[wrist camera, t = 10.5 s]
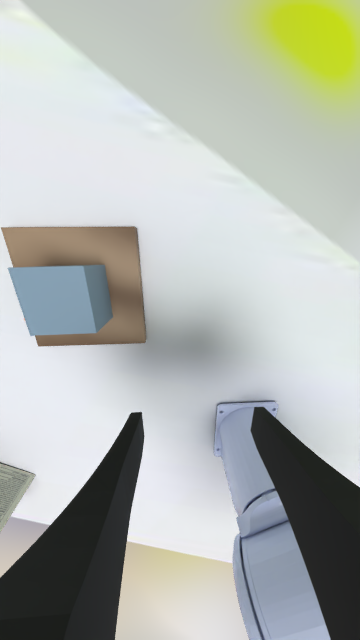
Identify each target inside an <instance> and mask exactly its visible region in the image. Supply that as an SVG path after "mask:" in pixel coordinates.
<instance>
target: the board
mask: <svg viewBox="0 0 360 640" xmlns="http://www.w3.org/2000/svg"><path fill="white" fill-rule="evenodd" d="M1 229H2V232H3V236H4V239H5V242H6V245H7V248H8V251H9V255H10V258H11V261H12V264H13V267H14V268H15V267H37V266H70V265H105V269H106V276H107V282H108V288H109V295H110V301H111V307H112V314H113V318H112V319H111V320H110V321H109V322H108V323H107V324H105V325H104V326H103V327H102V328H101V329H100V330H99V331H98V332H97V333H87V334H61V335H35V337H36V340H37V344H38V346H64V345H97V344H129V343H145V342H146V329H145V317H144V305H143V293H142V281H141V269H140V258H139V246H138V234H137V228H136V227H8V228H1Z"/></svg>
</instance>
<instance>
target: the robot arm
mask: <svg viewBox="0 0 360 640" xmlns="http://www.w3.org/2000/svg"><path fill="white" fill-rule="evenodd" d="M277 409H278V404H277V403H276V402H254V403H232V404H219V405H218V406H217V416H216V430H215V443H214V455H215V456H217V457H219V456H222V460H223V464H224V468H225V472H226V476H227V480H228V484H229V488H230V492H231V496H232V500H233V504H234V507H235V510H236V512H237V514H238V517H237V518H236V519H237V523H238V527H239V531H240V533H239V534H238V535H237V536H236V537H235V540H234V550H233V573H234V580H235V586H236V592H237V597H238V601H239V605H240V610H241V613H242V617H243V621H244V624H245V627H246V630H247V634H248V637H249V640H360V487H358V486H357V485H355V484H354V483H353V482H351V481H350V480H348V479H347V478H346V477H344V476H343V475H342V474H340V473H339V472H338V471H336V470H335V469H334V468H333V467H331V466H330V465H329V464H327V463H326V462H325V461H324V460H322V459H321V458H320V457H319V456H317V455H316V454H315V453H314V452H313V451H311V450H310V449H309V448H308V447H307V446H305V445H304V444H303V443H302V442H301V441H300V440H299V439H298V438H296V437H295V436H294V435H293V434H292V433H291V432H290V431H289V430H288V429H287V428H286V427H284V426H283V425H282V424H281V423H280V422H279V421H278V420H277V419H276V414H277ZM143 443H144V429H143V420H142V412H135V413H131V414H130V416H129V418H128V420H127V421H126V423H125V425H124V427H123V429H122V430H121V432H120V434H119V436H118V437H117V439H116V440H115V442H114V444H113V445H112V447H111V448H110V450H109V451H108V453H107V454H106V456H105V457H104V459H103V460H102V462H101V463H100V465H99V466H98V468H97V469H96V470H95V472H94V473H93V474H92V476H91V477H90V478H89V480H88V481H87V482H86V484H85V485H84V486H83V487H82V489H81V490H80V491H79V492H78V494H77V495H76V496H75V497H74V499H73V500H72V501H71V502H70V503H69V505H68V506H67V507H66V508H65V509H64V511H63V512H62V513H61V514H60V515H59V516H58V517H57V519H56V520H55V521H54V522H53V523H52V524H51V525H50V526H49V527H48V529H47V530H46V531H45V532H44V533H43V534H42V535H41V536H40V537H39V538H38V540H37V541H36V542H35V543H34V544H33V545H32V546H31V547H30V548H29V549H28V550H27V551H26V552H25V553H24V554H23V555H22V556H21V558H19V559H18V560H17V561H16V562H15V563H14V564H13V566H11V568H10V569H9V570H8V571H7V572H6V573H5V574H4V575H3V576H2V577H1V578H0V640H115V632H116V624H117V615H118V606H119V597H120V589H121V581H122V573H123V565H124V557H125V550H126V542H127V535H128V527H129V520H130V513H131V508H132V502H133V497H134V493H135V488H136V483H137V478H138V473H139V468H140V463H141V458H142V452H143Z"/></svg>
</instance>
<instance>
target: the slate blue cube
mask: <svg viewBox="0 0 360 640" xmlns="http://www.w3.org/2000/svg"><path fill="white" fill-rule="evenodd" d="M8 270H9V273H10V276H11V279H12V282H13V285H14V288H15V291H16V294H17V297H18V300H19V303H20V306H21V309H22V312H23V315H24V318H25V321H26V324H27V327H28V330H29V333H30V336H34V335H61V334H87V333H97V332H98V331H99V330H100V329H101V328H102V327H103V326H104V325H105V324H107V323H108V322H109V321H110V320H111V319H112V318H113V314H112V307H111V301H110V295H109V288H108V282H107V276H106V269H105V265H70V266H37V267H15V268H8Z"/></svg>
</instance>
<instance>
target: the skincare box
mask: <svg viewBox="0 0 360 640" xmlns="http://www.w3.org/2000/svg"><path fill="white" fill-rule="evenodd" d="M34 477H35V474H32V473H29V472H26V471H23V470H19V469H16V468H13V467H10V466H7V465H4V464H0V532H1V531H2V529H3V527H4V525H5V524H6V522H7V521H8V519H9V517H10V516H11V514H12V513H13V511H14V509H15V508H16V506H17V505H18V503H19V501H20V500H21V498H22V496H23V495H24V493H25V492H26V490H27V488H28V487H29V485H30V483H31V482H32V480H33V479H34Z"/></svg>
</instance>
